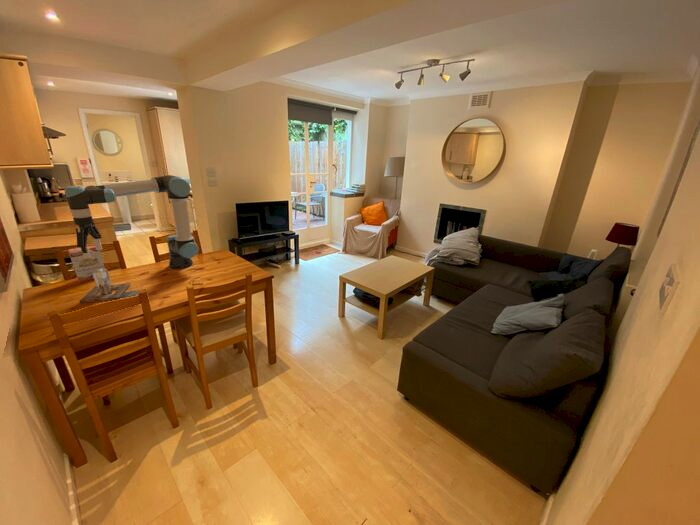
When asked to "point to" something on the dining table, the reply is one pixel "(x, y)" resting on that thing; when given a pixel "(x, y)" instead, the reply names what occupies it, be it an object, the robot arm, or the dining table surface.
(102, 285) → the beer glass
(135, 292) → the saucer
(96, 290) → the pocket frame
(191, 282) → the dining table surface
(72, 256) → the cracker box
